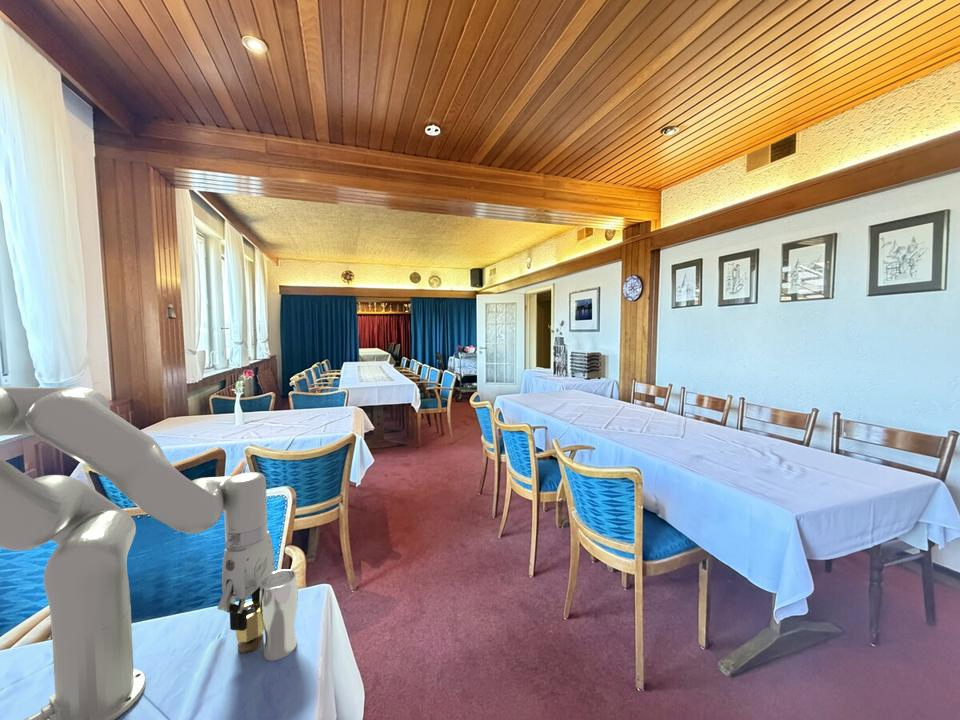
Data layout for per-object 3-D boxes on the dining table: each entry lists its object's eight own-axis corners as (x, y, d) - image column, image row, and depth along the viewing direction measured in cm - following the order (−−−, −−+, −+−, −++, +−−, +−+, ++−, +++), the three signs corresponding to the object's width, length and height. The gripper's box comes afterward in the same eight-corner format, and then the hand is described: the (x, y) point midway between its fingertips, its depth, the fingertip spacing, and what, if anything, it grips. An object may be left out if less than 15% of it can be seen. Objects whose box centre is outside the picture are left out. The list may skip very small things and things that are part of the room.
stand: (245, 656, 76) (243, 618, 76) (233, 647, 78) (232, 610, 78) (267, 641, 80) (266, 604, 80) (255, 633, 82) (254, 597, 82)
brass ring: (230, 641, 77) (229, 617, 76) (248, 622, 82) (246, 600, 81) (253, 642, 76) (252, 619, 76) (269, 623, 81) (268, 601, 81)
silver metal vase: (305, 637, 81) (303, 569, 80) (286, 664, 74) (283, 590, 74) (275, 634, 82) (273, 567, 81) (253, 661, 75) (250, 588, 74)
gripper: (232, 557, 69) (236, 652, 70) (288, 515, 86) (290, 592, 87) (195, 555, 70) (199, 649, 71) (258, 514, 87) (260, 590, 88)
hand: (249, 617), depth 79 cm, fingers open, 5 cm apart
